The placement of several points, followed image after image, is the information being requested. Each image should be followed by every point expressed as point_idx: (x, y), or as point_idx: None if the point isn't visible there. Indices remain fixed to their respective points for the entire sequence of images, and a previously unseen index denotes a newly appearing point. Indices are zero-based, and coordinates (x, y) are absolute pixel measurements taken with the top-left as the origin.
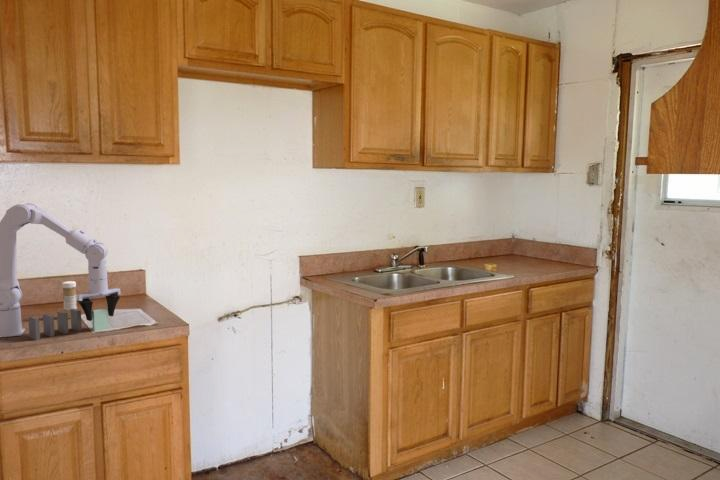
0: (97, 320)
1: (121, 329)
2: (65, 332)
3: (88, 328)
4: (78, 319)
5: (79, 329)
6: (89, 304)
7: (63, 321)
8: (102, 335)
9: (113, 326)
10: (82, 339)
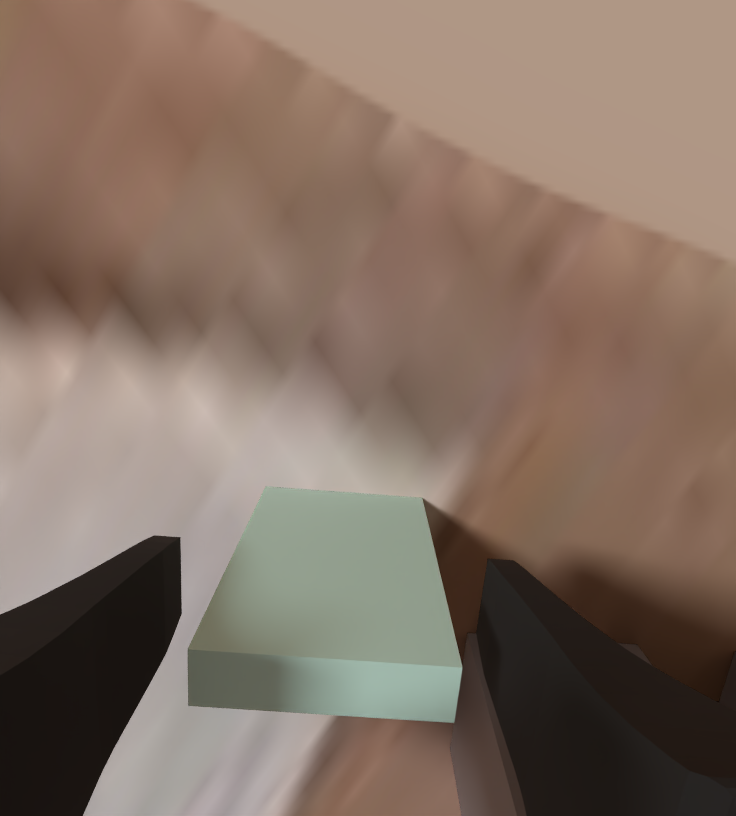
0: (391, 556)
1: (200, 316)
2: (637, 655)
3: None
4: None
5: None
6: (729, 741)
7: None
8: (489, 266)
9: (184, 510)
10: (711, 308)
